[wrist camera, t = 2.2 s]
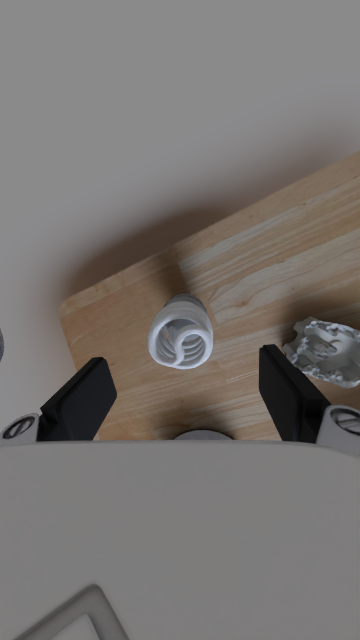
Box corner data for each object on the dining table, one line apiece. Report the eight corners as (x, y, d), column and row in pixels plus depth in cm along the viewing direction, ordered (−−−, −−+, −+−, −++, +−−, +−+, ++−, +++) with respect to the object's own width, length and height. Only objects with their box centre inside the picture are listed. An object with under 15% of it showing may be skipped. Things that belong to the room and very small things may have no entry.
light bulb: (185, 278, 23) (176, 298, 12) (214, 307, 24) (233, 351, 13) (157, 307, 25) (126, 350, 13) (186, 333, 26) (180, 393, 14)
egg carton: (373, 333, 24) (409, 348, 20) (339, 376, 26) (365, 397, 22) (301, 309, 23) (323, 319, 19) (273, 355, 26) (288, 372, 22)
